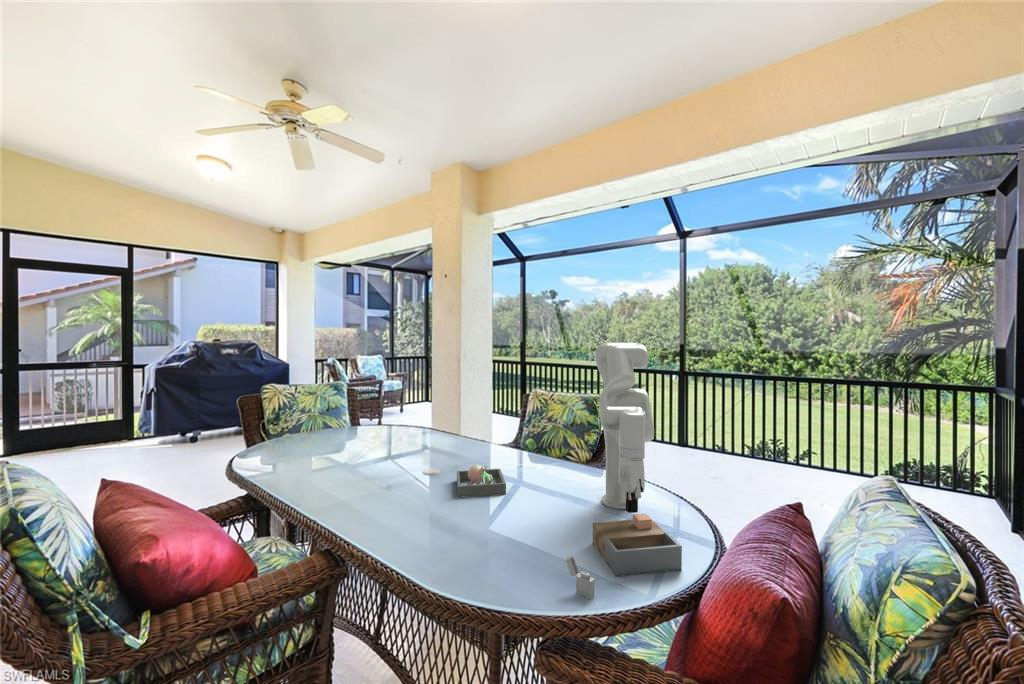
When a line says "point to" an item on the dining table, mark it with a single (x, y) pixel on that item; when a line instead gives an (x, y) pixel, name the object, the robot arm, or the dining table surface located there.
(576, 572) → the lighter
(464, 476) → the dark shallow tray
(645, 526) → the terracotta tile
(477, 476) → the orange and green lump
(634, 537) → the bench plate
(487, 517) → the dining table surface
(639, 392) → the robot arm
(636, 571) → the box
